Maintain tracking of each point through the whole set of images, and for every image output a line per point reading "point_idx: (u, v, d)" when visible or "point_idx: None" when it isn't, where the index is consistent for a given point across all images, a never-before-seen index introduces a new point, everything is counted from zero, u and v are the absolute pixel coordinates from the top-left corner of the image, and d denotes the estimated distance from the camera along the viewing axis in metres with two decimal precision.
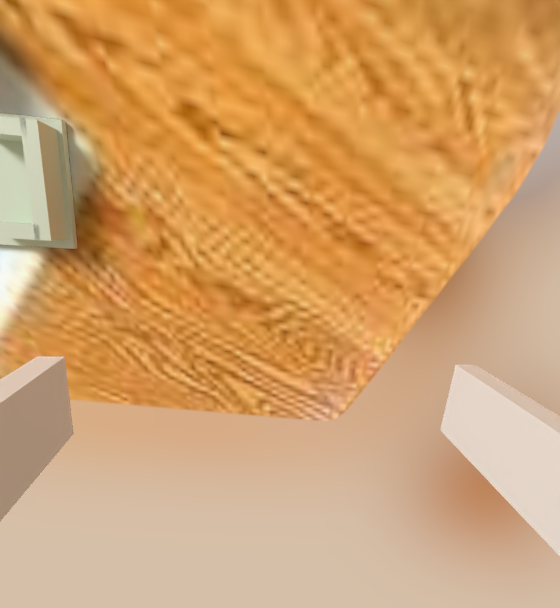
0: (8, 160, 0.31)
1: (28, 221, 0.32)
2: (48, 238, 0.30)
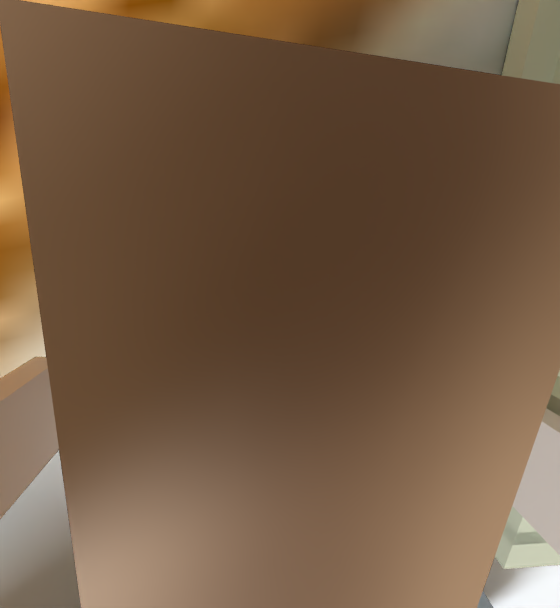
0: None
1: None
2: None
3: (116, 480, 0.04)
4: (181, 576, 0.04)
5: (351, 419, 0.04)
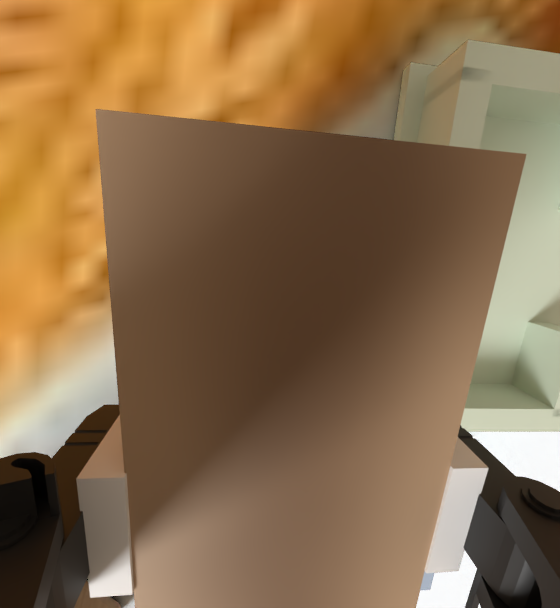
0: None
1: None
2: None
3: (157, 425, 0.05)
4: (202, 502, 0.05)
5: (326, 381, 0.05)
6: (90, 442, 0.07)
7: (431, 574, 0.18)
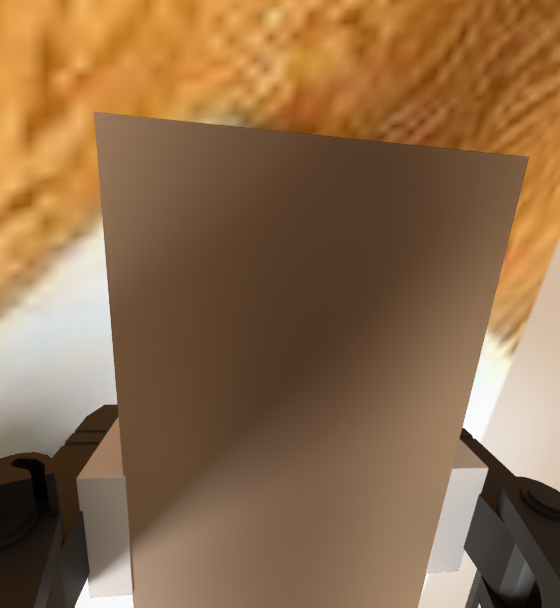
0: None
1: None
2: None
3: (156, 429, 0.05)
4: (202, 507, 0.05)
5: (327, 386, 0.05)
6: (90, 442, 0.07)
7: None
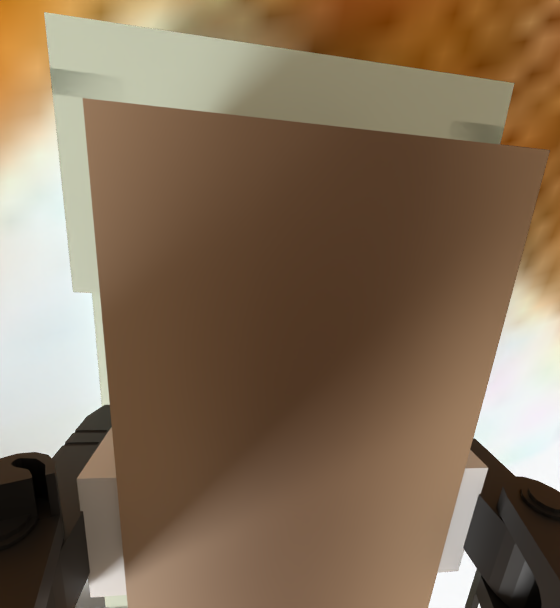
0: None
1: None
2: (504, 92, 0.08)
3: (152, 439, 0.05)
4: (200, 519, 0.05)
5: (332, 393, 0.05)
6: (90, 442, 0.07)
7: None
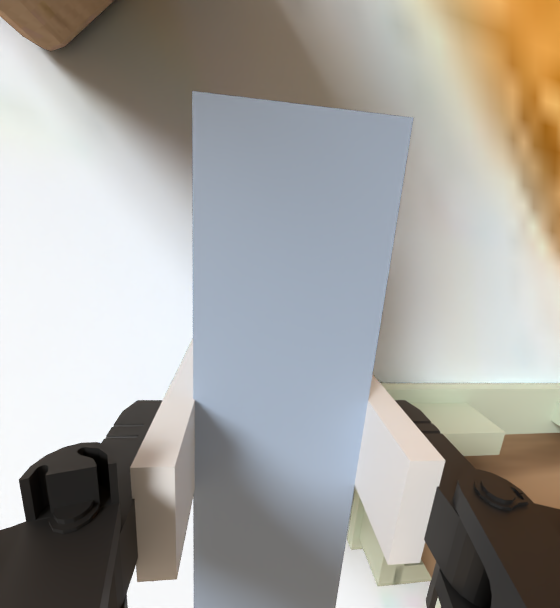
0: None
1: None
2: None
3: None
4: None
5: None
6: (130, 435, 0.07)
7: None
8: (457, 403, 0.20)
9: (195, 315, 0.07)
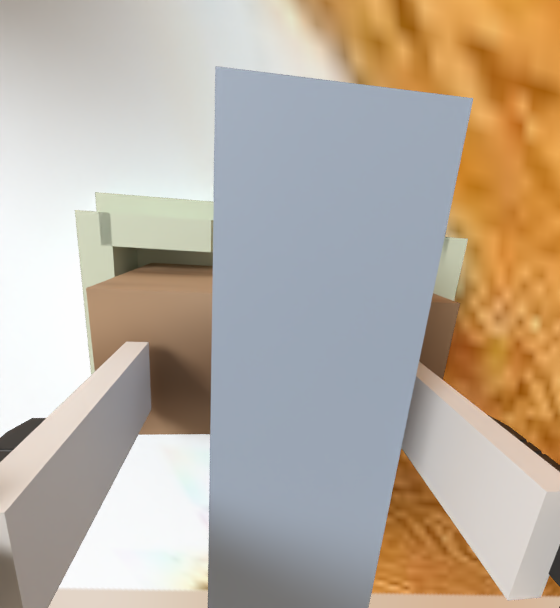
0: None
1: None
2: None
3: None
4: None
5: None
6: None
7: None
8: (203, 219, 0.17)
9: (214, 327, 0.06)
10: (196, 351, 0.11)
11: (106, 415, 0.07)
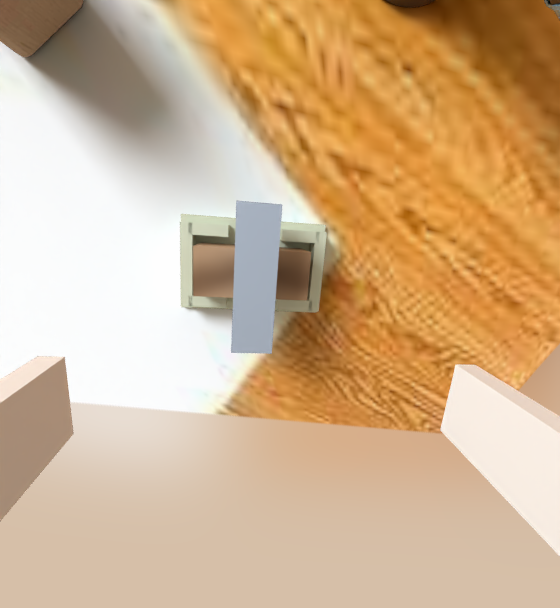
0: None
1: None
2: (317, 310, 0.42)
3: None
4: None
5: (278, 278, 0.36)
6: None
7: (242, 351, 0.33)
8: (223, 224, 0.41)
9: (235, 247, 0.30)
10: (225, 267, 0.35)
11: None
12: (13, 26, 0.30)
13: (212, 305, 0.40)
